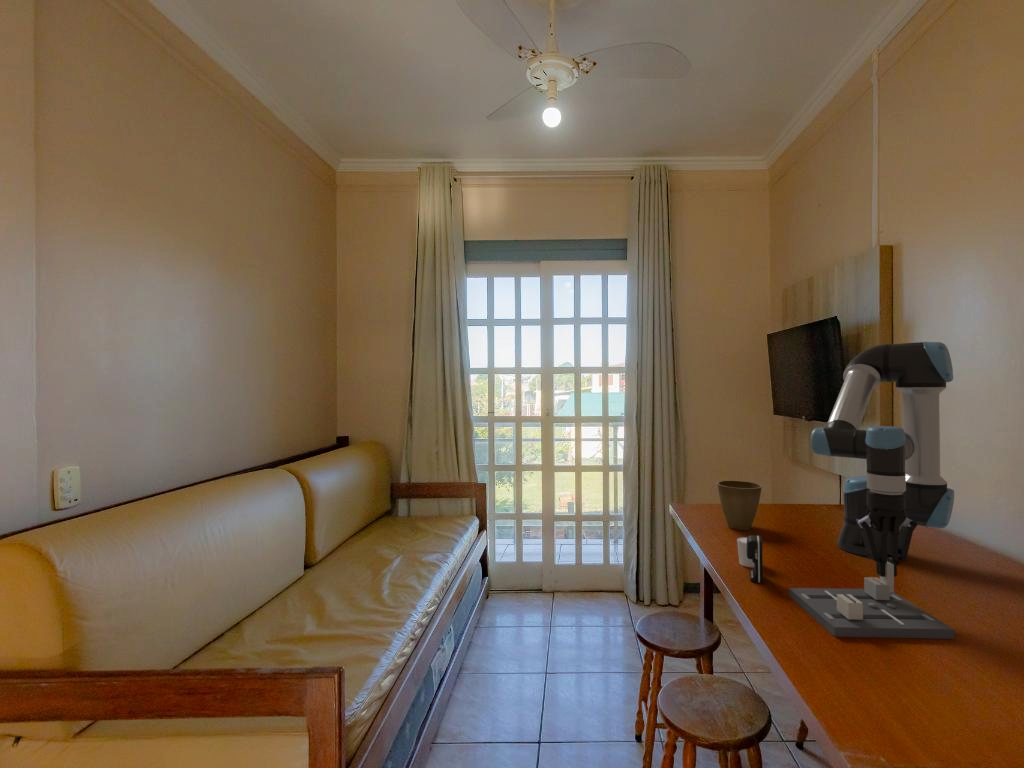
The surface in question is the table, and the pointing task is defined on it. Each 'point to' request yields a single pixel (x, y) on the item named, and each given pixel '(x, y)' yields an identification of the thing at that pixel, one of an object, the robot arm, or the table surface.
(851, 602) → the cream fader
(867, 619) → the console
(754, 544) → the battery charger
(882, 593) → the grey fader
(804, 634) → the table surface
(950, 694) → the table surface
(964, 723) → the table surface
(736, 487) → the plant pot
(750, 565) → the grey rimmed cylinder
